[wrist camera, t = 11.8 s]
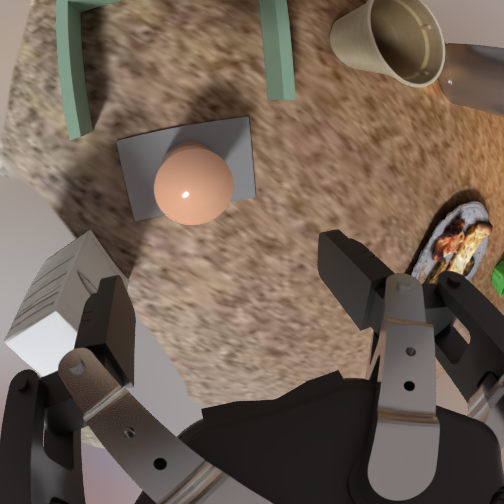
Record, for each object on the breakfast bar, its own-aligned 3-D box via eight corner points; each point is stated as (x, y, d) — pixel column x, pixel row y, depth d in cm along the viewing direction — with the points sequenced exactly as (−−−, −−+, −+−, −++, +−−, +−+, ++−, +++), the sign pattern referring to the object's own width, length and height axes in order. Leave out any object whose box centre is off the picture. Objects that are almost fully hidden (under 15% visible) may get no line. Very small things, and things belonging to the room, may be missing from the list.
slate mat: (248, 116, 25) (248, 116, 24) (255, 196, 29) (255, 197, 29) (116, 140, 22) (116, 141, 22) (135, 221, 27) (135, 221, 26)
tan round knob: (216, 132, 24) (229, 142, 19) (223, 192, 28) (237, 217, 23) (152, 144, 23) (147, 157, 18) (163, 203, 26) (162, 231, 21)
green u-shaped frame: (266, -22, 18) (282, -36, 14) (278, 98, 24) (295, 99, 21) (70, 7, 14) (56, -5, 11) (83, 133, 21) (69, 140, 18)
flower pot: (344, -12, 19) (398, -31, 12) (399, 47, 24) (456, 47, 17) (296, 39, 22) (346, 24, 15) (360, 99, 26) (418, 109, 19)
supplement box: (130, 279, 30) (124, 374, 19) (82, 306, 29) (63, 396, 19) (91, 225, 25) (56, 309, 15) (42, 258, 25) (1, 344, 15)
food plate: (448, 176, 35) (465, 186, 32) (494, 216, 44) (506, 224, 41) (375, 312, 45) (386, 326, 42) (438, 313, 55) (447, 323, 52)
